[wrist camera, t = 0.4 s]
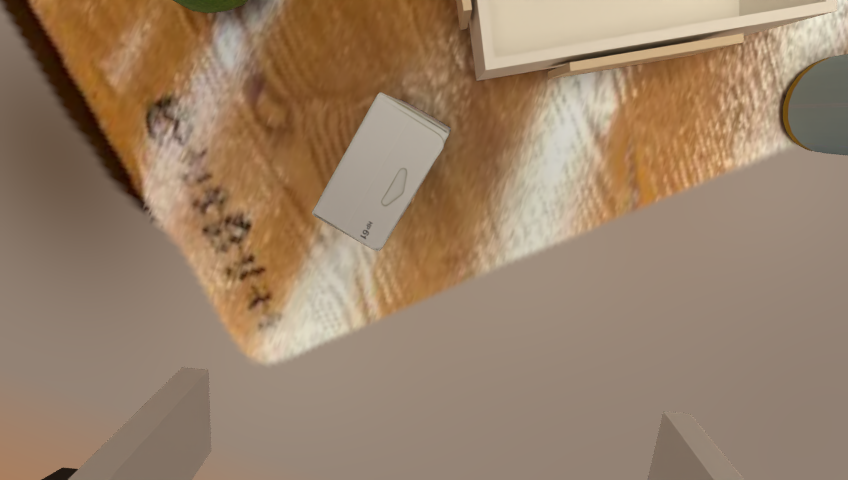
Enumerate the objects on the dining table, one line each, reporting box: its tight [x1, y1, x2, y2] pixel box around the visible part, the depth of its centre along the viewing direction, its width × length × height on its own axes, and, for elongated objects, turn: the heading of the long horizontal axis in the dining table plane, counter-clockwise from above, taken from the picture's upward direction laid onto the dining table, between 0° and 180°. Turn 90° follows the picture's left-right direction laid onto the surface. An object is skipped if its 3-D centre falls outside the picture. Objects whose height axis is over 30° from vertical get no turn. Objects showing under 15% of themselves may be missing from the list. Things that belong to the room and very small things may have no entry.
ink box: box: [312, 92, 450, 251], centre depth 34 cm, size 9×5×12 cm, turn 149°
